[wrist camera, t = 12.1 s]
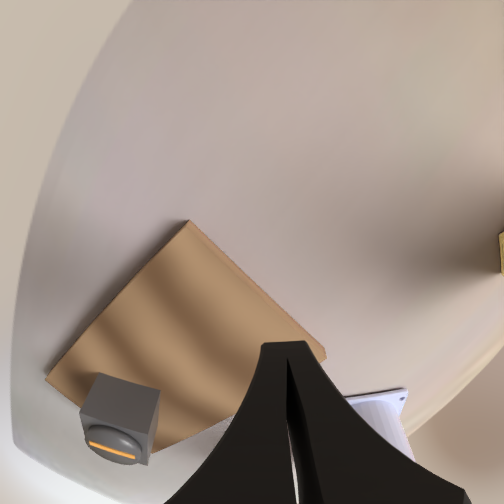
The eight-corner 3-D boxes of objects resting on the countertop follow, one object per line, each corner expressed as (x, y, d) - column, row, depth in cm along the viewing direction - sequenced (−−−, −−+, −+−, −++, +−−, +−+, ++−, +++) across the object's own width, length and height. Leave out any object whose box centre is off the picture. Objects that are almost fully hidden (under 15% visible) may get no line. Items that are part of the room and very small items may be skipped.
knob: (160, 390, 23) (145, 444, 18) (157, 425, 25) (145, 474, 20) (99, 372, 22) (74, 421, 17) (103, 409, 24) (84, 454, 19)
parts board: (189, 219, 19) (185, 226, 18) (324, 347, 22) (327, 358, 21) (50, 371, 24) (44, 379, 23) (154, 444, 28) (151, 453, 27)
